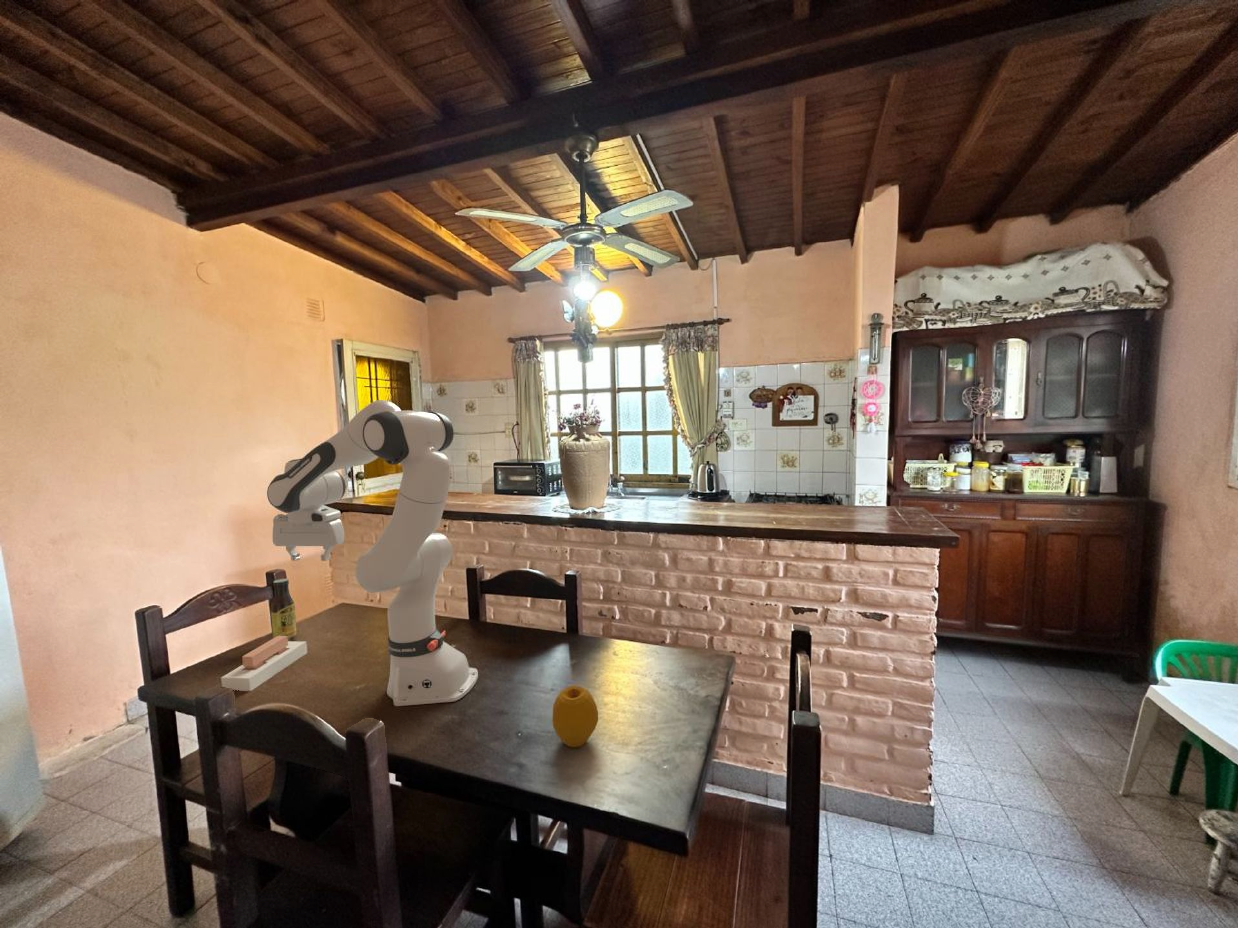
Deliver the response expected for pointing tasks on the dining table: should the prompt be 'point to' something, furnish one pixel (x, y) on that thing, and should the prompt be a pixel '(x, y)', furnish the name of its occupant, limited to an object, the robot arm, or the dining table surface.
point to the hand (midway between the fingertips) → (310, 560)
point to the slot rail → (264, 668)
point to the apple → (574, 715)
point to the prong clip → (265, 652)
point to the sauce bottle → (283, 611)
